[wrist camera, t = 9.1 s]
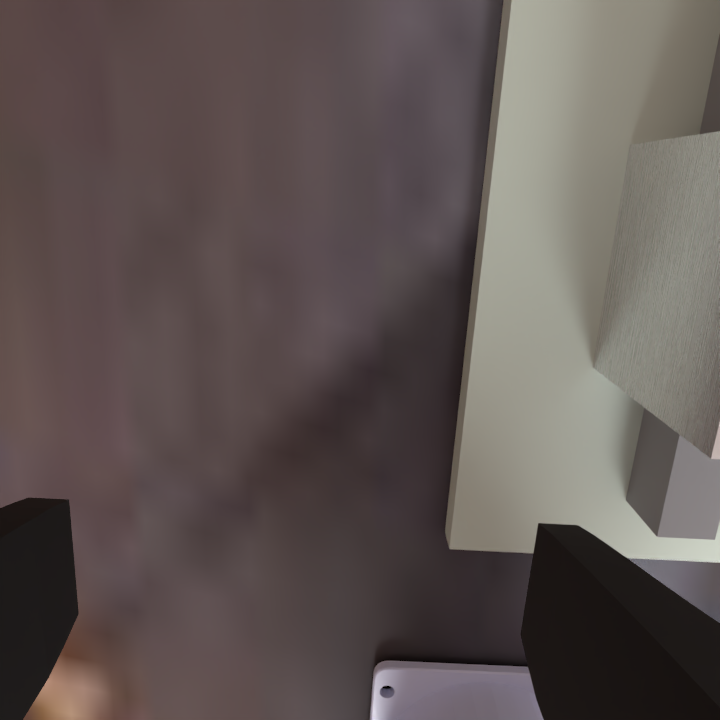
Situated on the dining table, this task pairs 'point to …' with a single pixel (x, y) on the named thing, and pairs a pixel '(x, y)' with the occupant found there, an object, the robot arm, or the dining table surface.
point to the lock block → (667, 287)
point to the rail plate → (575, 284)
